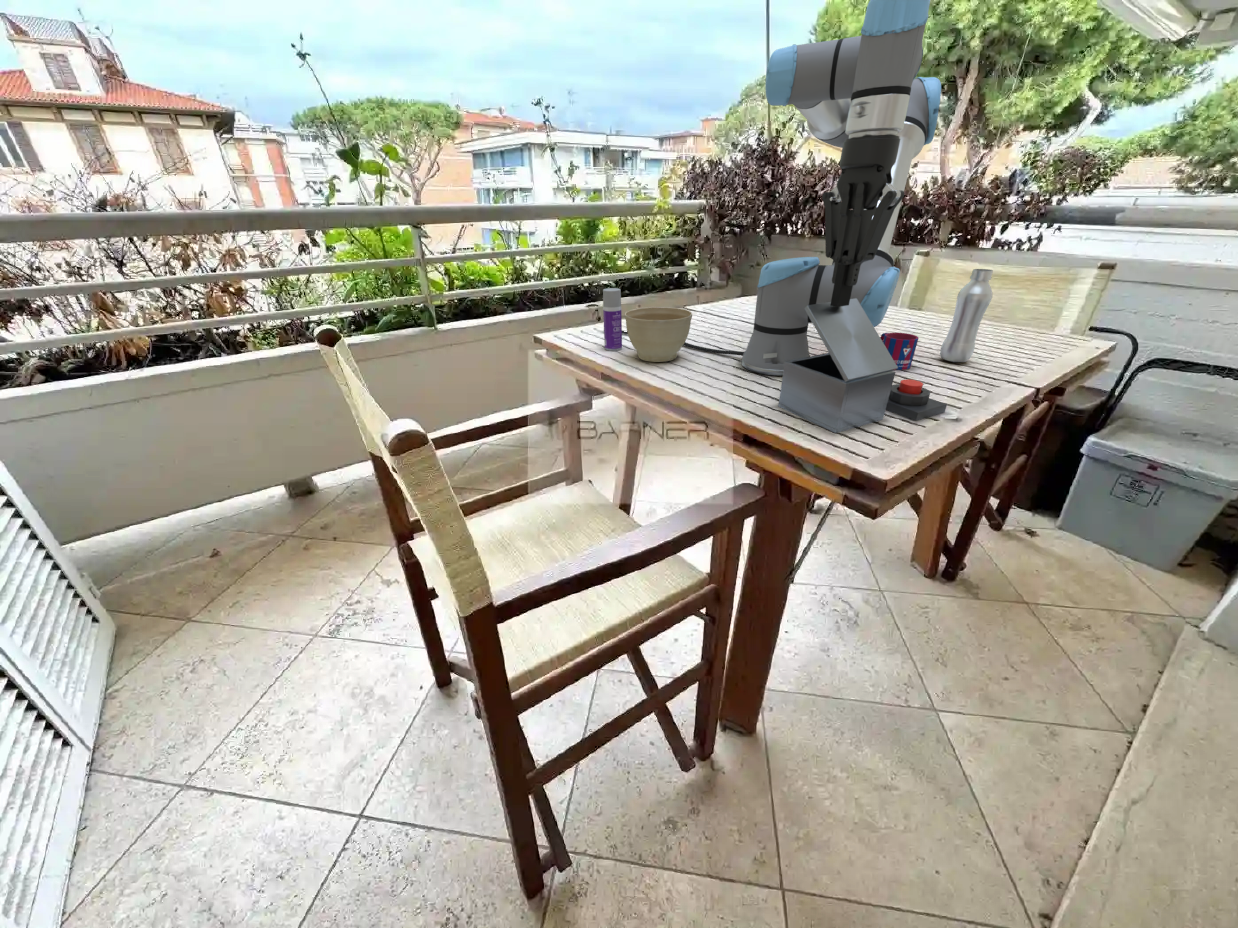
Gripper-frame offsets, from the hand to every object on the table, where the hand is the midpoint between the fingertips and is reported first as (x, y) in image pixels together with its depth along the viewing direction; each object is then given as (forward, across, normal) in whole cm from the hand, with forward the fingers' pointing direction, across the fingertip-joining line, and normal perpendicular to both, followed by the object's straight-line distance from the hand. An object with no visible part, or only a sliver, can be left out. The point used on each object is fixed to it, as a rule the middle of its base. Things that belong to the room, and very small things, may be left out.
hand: (839, 305), depth 81 cm
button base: (+19, +7, +14) cm, 24 cm away
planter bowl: (+19, -44, -9) cm, 49 cm away
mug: (+19, -11, +35) cm, 41 cm away
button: (+16, +7, +14) cm, 22 cm away
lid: (+5, +3, 0) cm, 6 cm away
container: (+19, -57, -15) cm, 62 cm away
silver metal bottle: (+19, -5, +49) cm, 53 cm away
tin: (+19, +2, 0) cm, 19 cm away
